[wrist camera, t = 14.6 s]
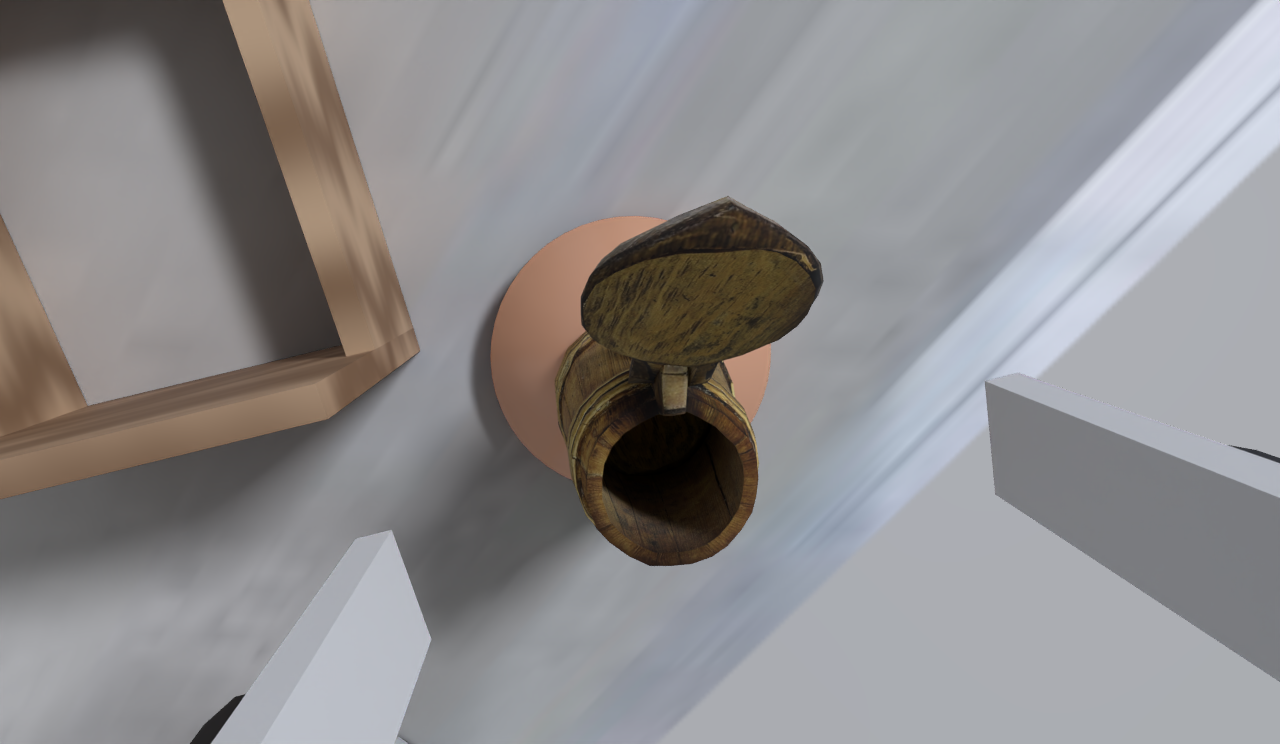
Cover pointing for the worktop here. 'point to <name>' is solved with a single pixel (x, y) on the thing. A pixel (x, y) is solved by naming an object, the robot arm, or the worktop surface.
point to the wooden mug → (677, 377)
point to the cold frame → (247, 398)
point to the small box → (400, 741)
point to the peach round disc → (571, 335)
